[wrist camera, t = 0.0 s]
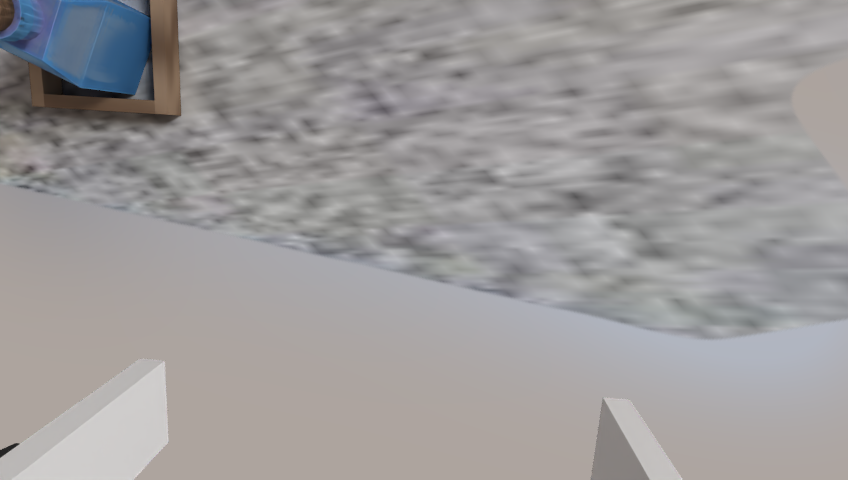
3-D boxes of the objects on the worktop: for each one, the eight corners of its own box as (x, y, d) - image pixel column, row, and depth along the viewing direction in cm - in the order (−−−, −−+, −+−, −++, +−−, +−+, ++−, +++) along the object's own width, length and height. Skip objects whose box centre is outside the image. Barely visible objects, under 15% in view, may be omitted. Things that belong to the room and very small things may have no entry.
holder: (39, -37, 40) (18, -46, 38) (175, -30, 39) (161, -39, 37) (52, 107, 42) (32, 106, 40) (181, 115, 42) (167, 114, 40)
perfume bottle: (65, 60, 41) (-89, 29, 30) (88, -14, 40) (-63, -77, 28) (135, 94, 42) (9, 78, 30) (160, 22, 40) (39, -25, 29)
